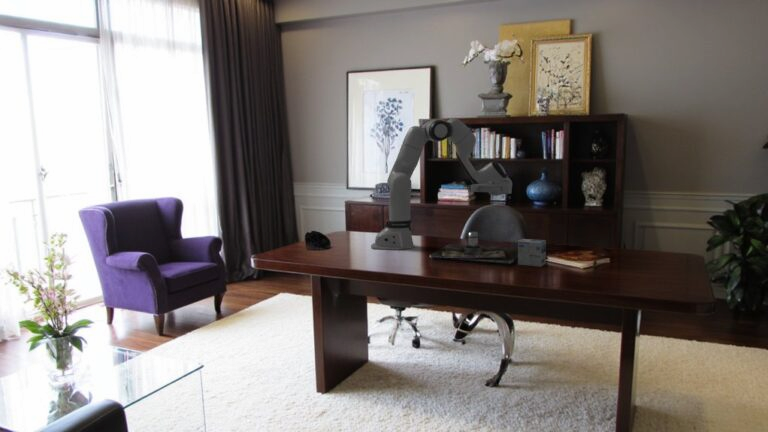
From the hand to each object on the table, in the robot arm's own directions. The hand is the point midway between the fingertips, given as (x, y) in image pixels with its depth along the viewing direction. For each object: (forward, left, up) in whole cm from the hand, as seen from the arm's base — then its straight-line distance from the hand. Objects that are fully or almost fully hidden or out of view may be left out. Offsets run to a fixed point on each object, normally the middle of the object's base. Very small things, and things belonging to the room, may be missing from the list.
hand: (485, 189), depth 277 cm
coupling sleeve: (-7, -19, -28) cm, 35 cm away
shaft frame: (-7, -19, -30) cm, 36 cm away
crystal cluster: (-87, +2, -30) cm, 92 cm away
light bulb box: (+18, -35, -30) cm, 50 cm away
